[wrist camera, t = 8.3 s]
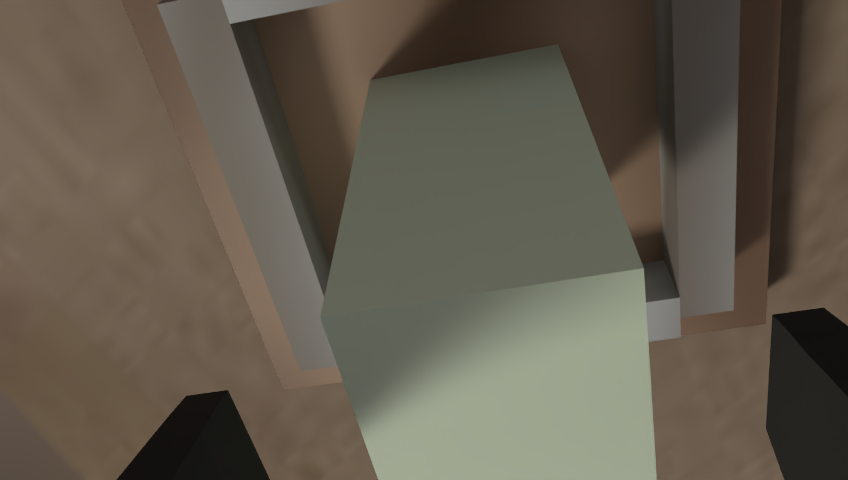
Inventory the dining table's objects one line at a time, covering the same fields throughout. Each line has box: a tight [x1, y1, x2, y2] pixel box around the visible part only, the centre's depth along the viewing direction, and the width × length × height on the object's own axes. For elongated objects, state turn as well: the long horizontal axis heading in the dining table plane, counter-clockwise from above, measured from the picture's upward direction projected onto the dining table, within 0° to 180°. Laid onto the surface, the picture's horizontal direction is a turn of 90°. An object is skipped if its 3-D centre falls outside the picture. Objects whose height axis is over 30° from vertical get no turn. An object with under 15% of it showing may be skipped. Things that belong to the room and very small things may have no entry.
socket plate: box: [122, 0, 782, 390], centre depth 17 cm, size 13×13×2 cm
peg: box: [320, 44, 657, 480], centre depth 14 cm, size 4×4×8 cm
